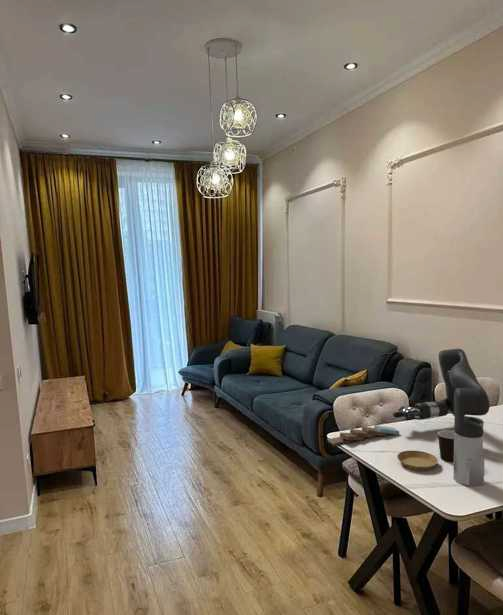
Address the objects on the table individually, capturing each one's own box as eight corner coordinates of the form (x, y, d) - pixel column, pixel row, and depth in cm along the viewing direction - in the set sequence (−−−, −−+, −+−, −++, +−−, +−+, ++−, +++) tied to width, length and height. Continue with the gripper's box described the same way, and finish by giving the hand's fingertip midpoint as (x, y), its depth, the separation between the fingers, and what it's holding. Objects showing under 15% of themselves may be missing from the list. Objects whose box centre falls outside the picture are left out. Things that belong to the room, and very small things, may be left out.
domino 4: (381, 429, 207) (362, 426, 204) (387, 433, 202) (368, 429, 199) (380, 432, 207) (361, 429, 204) (386, 436, 202) (367, 433, 199)
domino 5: (393, 427, 208) (374, 424, 205) (399, 431, 204) (380, 428, 201) (392, 431, 208) (374, 428, 205) (398, 434, 204) (379, 431, 201)
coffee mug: (447, 465, 172) (447, 439, 172) (432, 456, 181) (433, 431, 180) (472, 460, 176) (473, 436, 175) (457, 452, 184) (457, 428, 183)
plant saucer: (412, 475, 165) (412, 469, 165) (389, 459, 179) (389, 453, 179) (446, 469, 169) (446, 463, 169) (421, 454, 183) (421, 448, 183)
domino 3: (367, 431, 205) (350, 428, 201) (374, 434, 201) (357, 432, 196) (366, 434, 205) (349, 432, 201) (373, 437, 201) (356, 435, 196)
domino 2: (357, 433, 202) (340, 432, 197) (364, 436, 198) (347, 436, 193) (356, 436, 202) (339, 436, 197) (363, 440, 198) (346, 439, 193)
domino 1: (346, 435, 201) (327, 439, 197) (353, 439, 197) (333, 443, 193) (346, 438, 202) (327, 442, 198) (353, 442, 197) (333, 446, 193)
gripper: (435, 423, 204) (402, 428, 199) (417, 414, 216) (385, 418, 212) (435, 407, 203) (402, 411, 198) (417, 398, 216) (385, 402, 211)
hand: (393, 415), depth 205 cm, fingers closed
